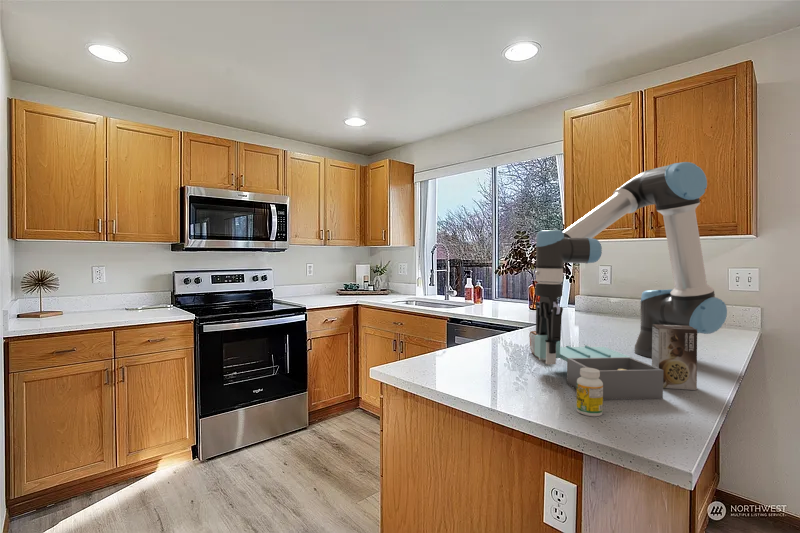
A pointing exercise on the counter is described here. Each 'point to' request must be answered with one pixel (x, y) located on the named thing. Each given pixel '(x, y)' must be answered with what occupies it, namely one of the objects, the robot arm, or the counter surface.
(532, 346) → the tin
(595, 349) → the lid
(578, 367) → the tub
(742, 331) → the counter surface
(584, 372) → the supplement bottle
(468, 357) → the counter surface
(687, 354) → the coffee box
